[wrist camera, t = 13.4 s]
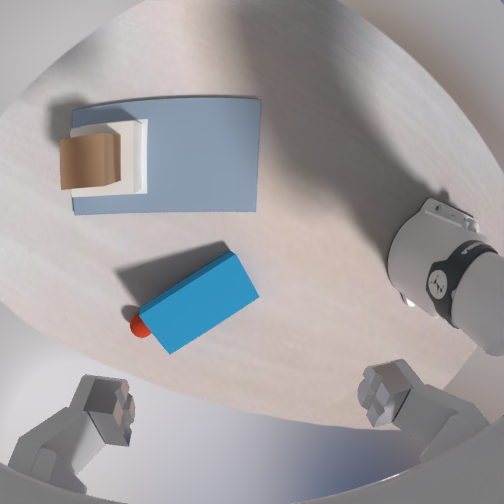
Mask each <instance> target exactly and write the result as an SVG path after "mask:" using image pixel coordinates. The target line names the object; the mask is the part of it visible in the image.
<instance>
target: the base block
mask: <svg viewBox="0 0 504 504" xmlns="http://www.w3.org/2000/svg"><path fill="white" fill-rule="evenodd" d="M142 130H143V124H142V123H139V122H136V121H125V122H116V123H107V124H99V125H92V126H85V127H79V128H73V129H70V138H72V137H78V136H85V135H92V134H100V133H108V134H116V135H121V181H118V182H115V183H112V184H110V185H107V186H101V187H88V188H76V189H71V196H72V197H83V196H97V195H114V194H134V193H136V192H137V191H139V190H141V189H142Z"/></svg>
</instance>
